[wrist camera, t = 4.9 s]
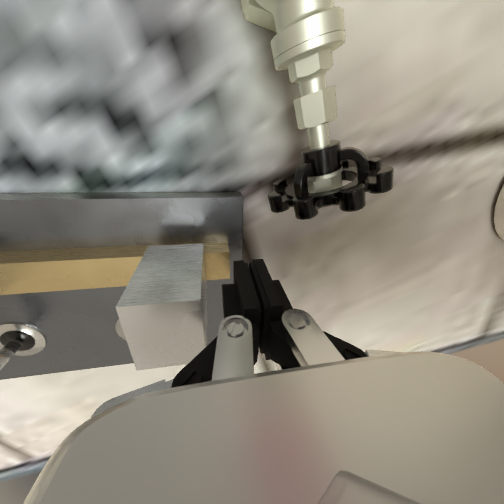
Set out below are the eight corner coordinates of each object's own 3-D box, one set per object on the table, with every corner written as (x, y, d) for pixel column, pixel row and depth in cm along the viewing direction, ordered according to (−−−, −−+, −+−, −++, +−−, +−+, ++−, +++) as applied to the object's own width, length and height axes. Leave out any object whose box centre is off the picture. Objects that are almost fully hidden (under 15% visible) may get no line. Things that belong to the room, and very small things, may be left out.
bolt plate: (239, 191, 15) (273, 254, 7) (239, 336, 22) (256, 451, 14) (-134, 194, 12) (-808, 315, 4) (-1, 364, 18) (-157, 535, 11)
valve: (187, -61, 10) (260, 197, 16) (156, -339, 4) (290, 234, 10) (329, -109, 10) (348, 166, 16) (501, -453, 4) (428, 186, 10)
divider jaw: (203, 234, 14) (200, 300, 8) (210, 328, 18) (211, 415, 12) (153, 236, 13) (115, 307, 8) (171, 332, 17) (154, 424, 12)
